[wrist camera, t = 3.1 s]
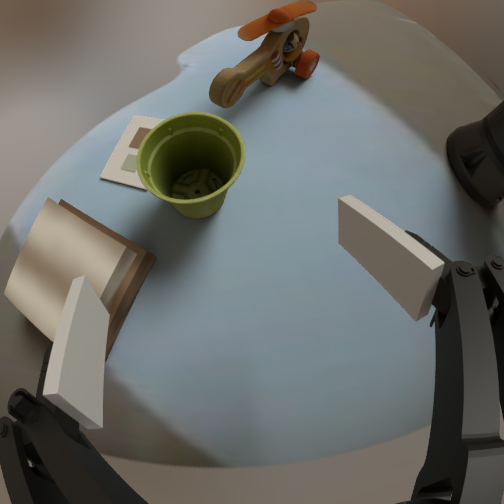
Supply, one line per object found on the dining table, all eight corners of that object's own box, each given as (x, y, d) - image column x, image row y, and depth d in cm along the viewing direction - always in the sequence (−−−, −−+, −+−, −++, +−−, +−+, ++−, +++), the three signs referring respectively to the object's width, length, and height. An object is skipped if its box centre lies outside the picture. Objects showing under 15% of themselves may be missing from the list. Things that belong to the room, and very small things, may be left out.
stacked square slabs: (75, 209, 29) (48, 188, 23) (156, 257, 29) (137, 242, 22) (31, 300, 26) (-2, 295, 20) (106, 360, 26) (77, 370, 19)
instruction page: (135, 116, 32) (134, 114, 32) (180, 123, 32) (179, 122, 32) (100, 178, 30) (99, 176, 30) (147, 190, 30) (146, 189, 30)
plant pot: (212, 145, 32) (209, 97, 23) (257, 204, 31) (267, 165, 22) (145, 184, 30) (121, 144, 22) (184, 250, 29) (167, 225, 21)
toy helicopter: (318, 68, 37) (342, 4, 23) (244, 145, 32) (252, 59, 19) (275, 48, 37) (288, -17, 24) (192, 117, 33) (180, 34, 19)
